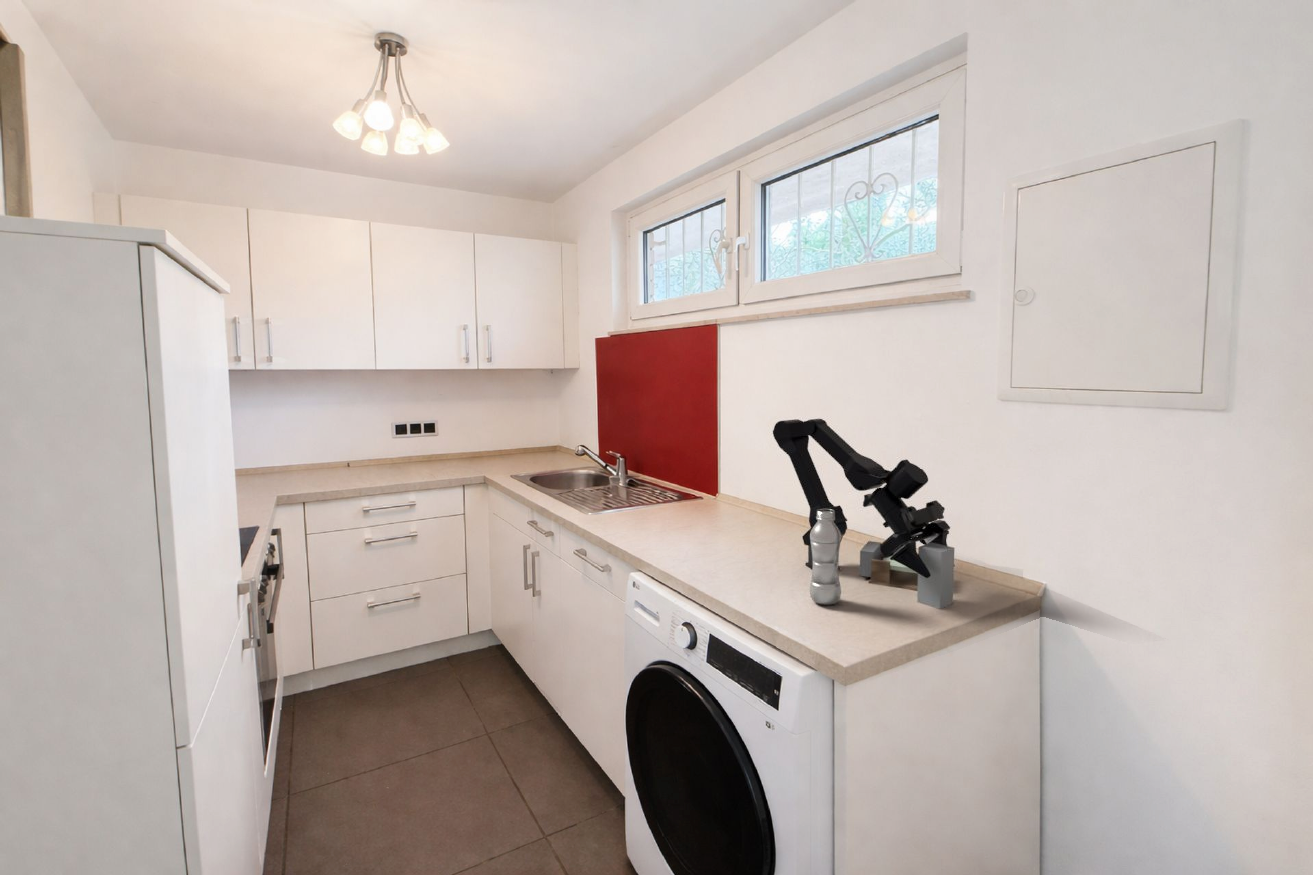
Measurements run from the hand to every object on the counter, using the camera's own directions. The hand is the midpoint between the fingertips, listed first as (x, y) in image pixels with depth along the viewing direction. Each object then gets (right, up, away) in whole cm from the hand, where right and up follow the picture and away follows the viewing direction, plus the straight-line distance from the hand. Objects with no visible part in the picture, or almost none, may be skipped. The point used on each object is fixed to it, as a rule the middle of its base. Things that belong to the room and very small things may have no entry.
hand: (941, 572), depth 127 cm
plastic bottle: (-23, -7, +3) cm, 25 cm away
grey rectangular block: (-1, -7, +2) cm, 7 cm away
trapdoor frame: (-1, -5, +15) cm, 16 cm away
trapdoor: (-2, -4, +16) cm, 17 cm away
